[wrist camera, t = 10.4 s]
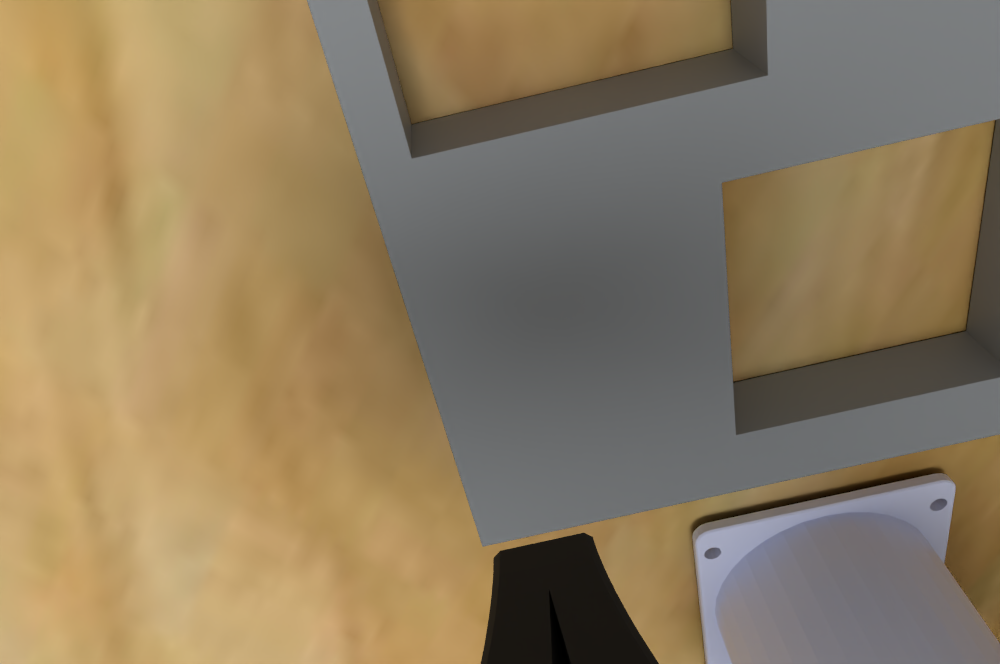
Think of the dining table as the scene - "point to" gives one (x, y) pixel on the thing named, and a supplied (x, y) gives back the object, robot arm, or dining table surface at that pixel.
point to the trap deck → (661, 258)
